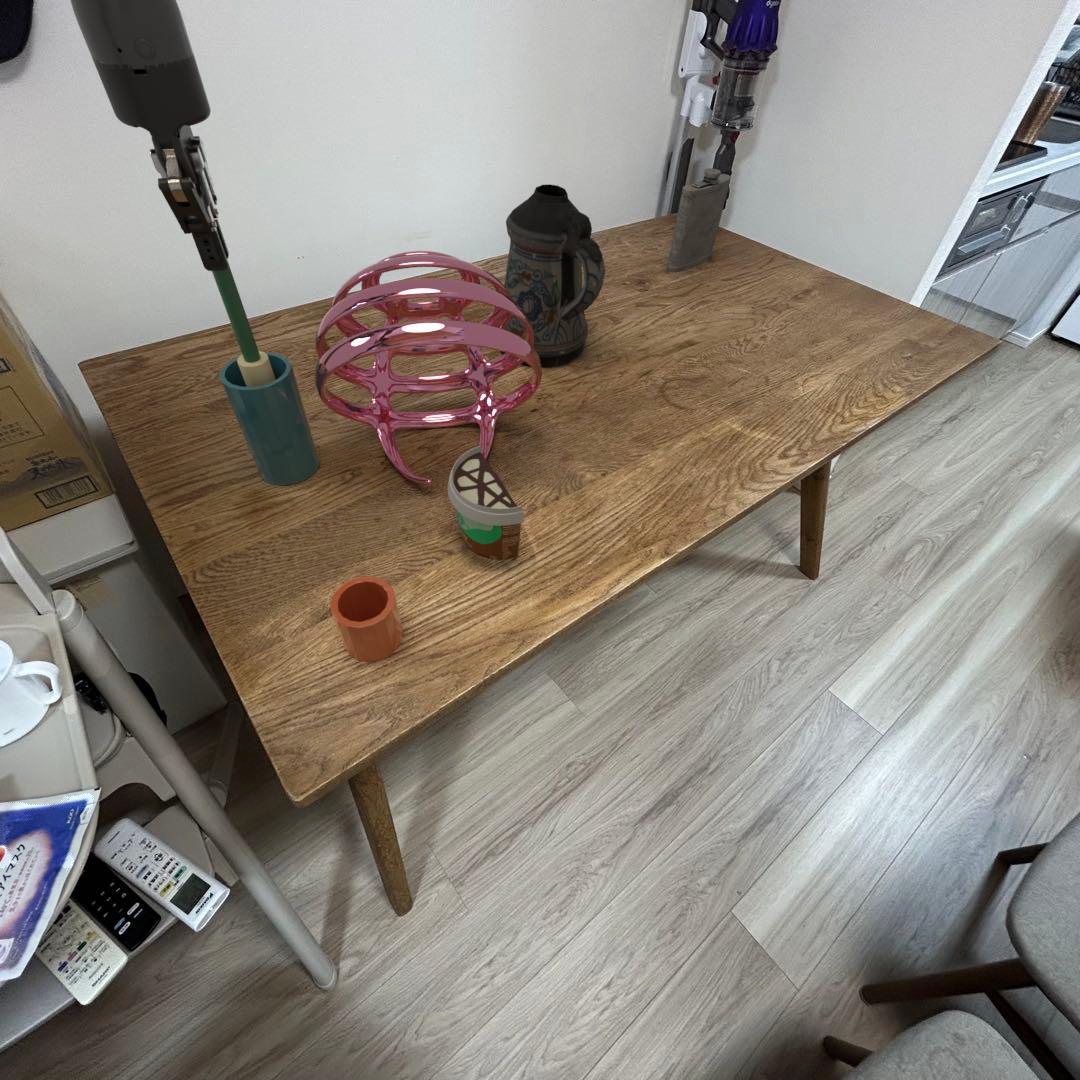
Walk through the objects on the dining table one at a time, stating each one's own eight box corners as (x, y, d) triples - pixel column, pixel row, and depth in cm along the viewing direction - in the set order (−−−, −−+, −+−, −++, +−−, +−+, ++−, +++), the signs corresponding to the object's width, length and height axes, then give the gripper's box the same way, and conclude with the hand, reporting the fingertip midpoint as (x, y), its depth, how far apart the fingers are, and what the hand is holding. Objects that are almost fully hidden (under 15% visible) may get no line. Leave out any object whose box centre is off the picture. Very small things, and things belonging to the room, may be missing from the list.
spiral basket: (534, 426, 59) (501, 173, 62) (272, 471, 63) (254, 231, 66) (566, 482, 86) (542, 305, 90) (383, 511, 90) (366, 340, 93)
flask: (716, 256, 134) (740, 165, 120) (677, 274, 127) (697, 180, 113) (703, 251, 135) (725, 160, 122) (664, 268, 129) (682, 174, 115)
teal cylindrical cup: (258, 490, 79) (217, 393, 68) (259, 451, 84) (221, 356, 73) (321, 480, 81) (291, 384, 69) (318, 443, 86) (290, 348, 74)
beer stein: (514, 312, 113) (516, 162, 94) (613, 335, 109) (635, 183, 90) (478, 356, 102) (472, 196, 84) (585, 382, 99) (604, 221, 80)
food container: (437, 516, 77) (430, 456, 70) (481, 501, 79) (479, 442, 72) (475, 584, 70) (471, 526, 62) (522, 567, 72) (524, 508, 65)
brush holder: (347, 670, 62) (332, 633, 57) (342, 622, 66) (328, 583, 61) (407, 656, 63) (398, 619, 58) (399, 610, 67) (390, 571, 62)
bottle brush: (253, 411, 73) (179, 219, 57) (253, 395, 75) (183, 206, 59) (282, 407, 74) (218, 217, 57) (281, 392, 76) (220, 204, 59)
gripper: (104, 33, 52) (184, 239, 65) (72, 69, 44) (171, 298, 57) (197, 33, 54) (257, 234, 67) (184, 68, 45) (256, 291, 58)
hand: (217, 263), depth 62 cm, fingers closed on bottle brush, 2 cm apart
